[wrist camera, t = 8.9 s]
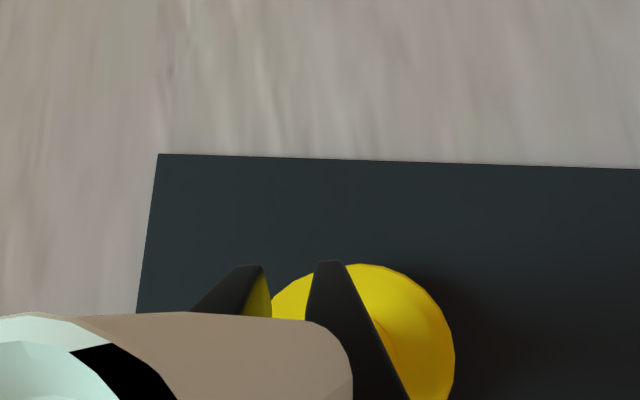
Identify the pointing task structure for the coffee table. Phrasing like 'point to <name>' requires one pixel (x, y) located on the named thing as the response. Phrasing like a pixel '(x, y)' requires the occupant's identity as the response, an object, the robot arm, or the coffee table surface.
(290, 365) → the candle
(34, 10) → the coffee table surface
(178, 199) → the mat
